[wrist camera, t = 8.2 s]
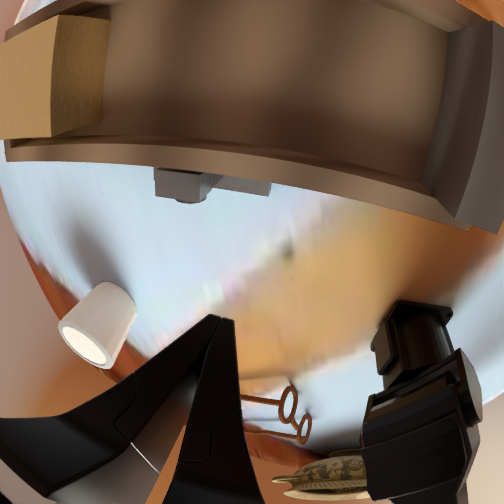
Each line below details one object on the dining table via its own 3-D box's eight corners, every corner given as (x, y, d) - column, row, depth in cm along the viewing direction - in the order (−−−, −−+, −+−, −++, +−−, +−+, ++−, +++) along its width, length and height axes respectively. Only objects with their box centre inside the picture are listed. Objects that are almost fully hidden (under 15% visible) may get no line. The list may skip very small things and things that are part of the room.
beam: (475, 41, 7) (536, 34, 3) (442, 202, 13) (487, 255, 8) (40, 28, 10) (-16, 34, 6) (38, 146, 16) (-14, 172, 11)
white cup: (85, 270, 27) (48, 312, 21) (136, 285, 26) (100, 336, 20) (100, 314, 30) (71, 355, 25) (147, 330, 30) (120, 378, 24)
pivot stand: (299, -35, 9) (293, -79, 5) (270, 191, 18) (254, 232, 14) (177, -32, 10) (131, -60, 5) (160, 175, 19) (114, 208, 14)
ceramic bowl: (262, 456, 50) (254, 494, 42) (304, 426, 37) (296, 483, 29) (373, 467, 50) (372, 500, 41) (438, 435, 36) (442, 477, 28)
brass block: (111, 20, 9) (58, 14, 6) (102, 119, 13) (51, 136, 9) (45, 40, 10) (-2, 45, 6) (42, 122, 13) (-3, 139, 10)
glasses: (313, 419, 36) (311, 448, 32) (236, 420, 40) (229, 446, 36) (291, 376, 30) (285, 413, 26) (196, 379, 35) (185, 410, 30)
